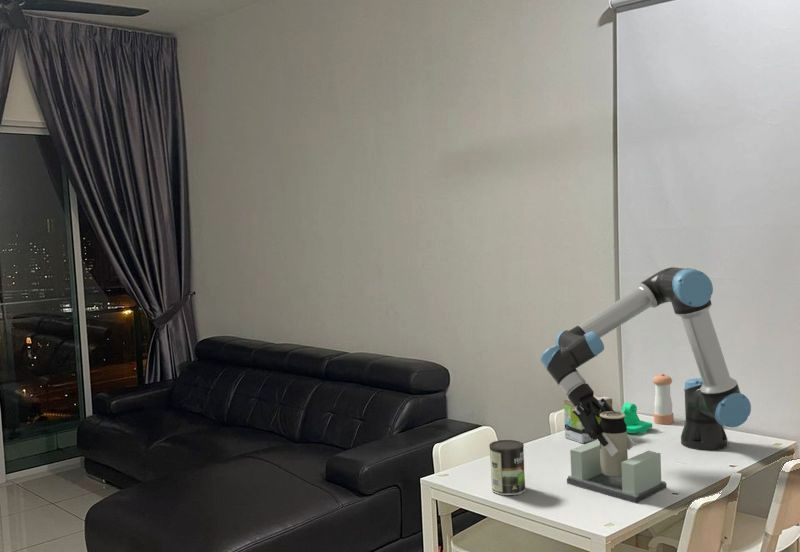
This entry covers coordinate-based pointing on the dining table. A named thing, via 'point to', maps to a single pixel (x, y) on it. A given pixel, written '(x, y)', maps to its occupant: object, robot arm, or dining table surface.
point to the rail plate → (613, 487)
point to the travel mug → (617, 434)
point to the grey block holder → (635, 470)
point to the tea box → (578, 421)
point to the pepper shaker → (663, 400)
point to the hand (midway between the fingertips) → (623, 450)
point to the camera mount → (634, 420)
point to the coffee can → (507, 467)
